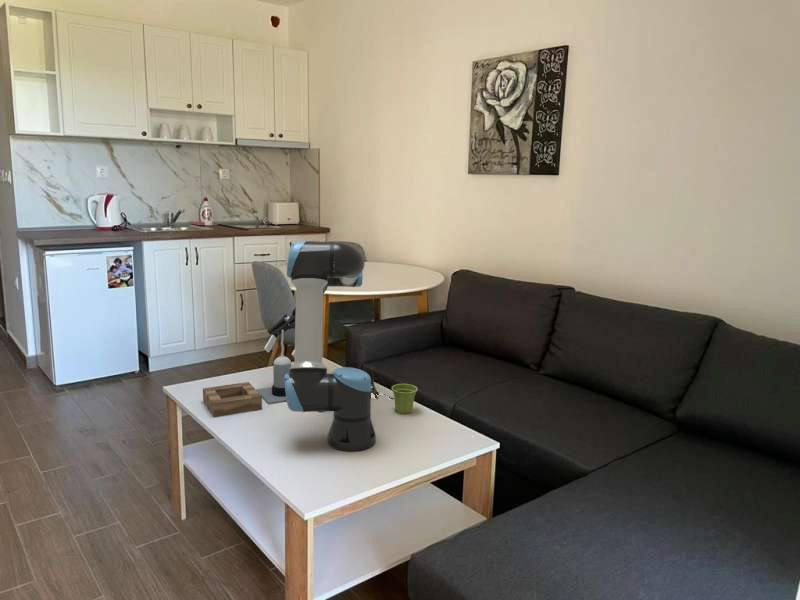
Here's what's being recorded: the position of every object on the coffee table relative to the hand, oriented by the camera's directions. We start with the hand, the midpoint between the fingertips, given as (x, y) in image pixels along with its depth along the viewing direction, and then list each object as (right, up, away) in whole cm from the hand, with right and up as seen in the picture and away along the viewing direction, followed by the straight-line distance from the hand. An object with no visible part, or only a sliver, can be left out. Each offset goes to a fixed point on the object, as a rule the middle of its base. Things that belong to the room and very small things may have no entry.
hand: (279, 353), depth 222 cm
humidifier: (0, -16, +4) cm, 16 cm away
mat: (0, -16, +4) cm, 17 cm away
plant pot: (+47, -20, -9) cm, 52 cm away
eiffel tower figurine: (+35, -18, +5) cm, 40 cm away
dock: (-16, -18, -9) cm, 25 cm away
